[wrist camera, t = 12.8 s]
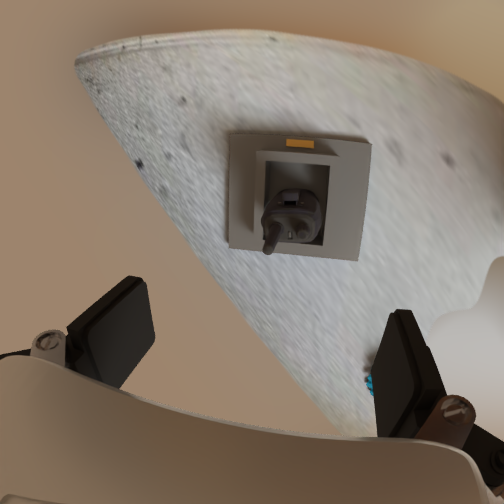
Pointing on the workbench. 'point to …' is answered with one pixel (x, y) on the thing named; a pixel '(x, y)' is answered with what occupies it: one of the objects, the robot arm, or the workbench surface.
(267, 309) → the workbench surface
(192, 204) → the workbench surface
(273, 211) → the two-way radio
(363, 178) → the charging cradle
